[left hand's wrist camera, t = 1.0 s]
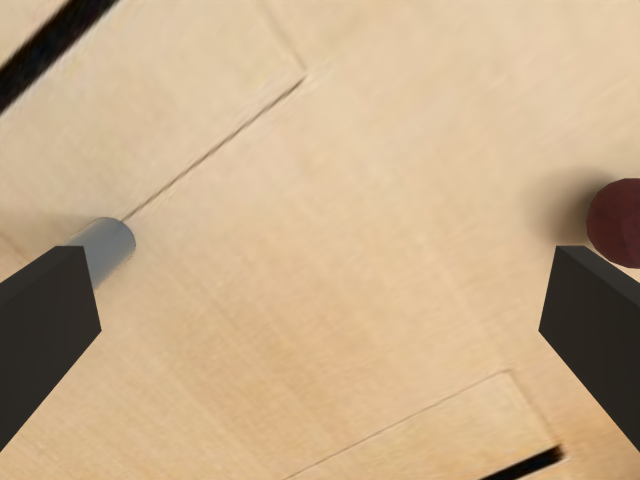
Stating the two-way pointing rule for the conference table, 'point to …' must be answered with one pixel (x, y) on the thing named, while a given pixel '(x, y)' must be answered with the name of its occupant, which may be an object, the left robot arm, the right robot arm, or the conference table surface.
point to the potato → (617, 222)
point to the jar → (104, 248)
